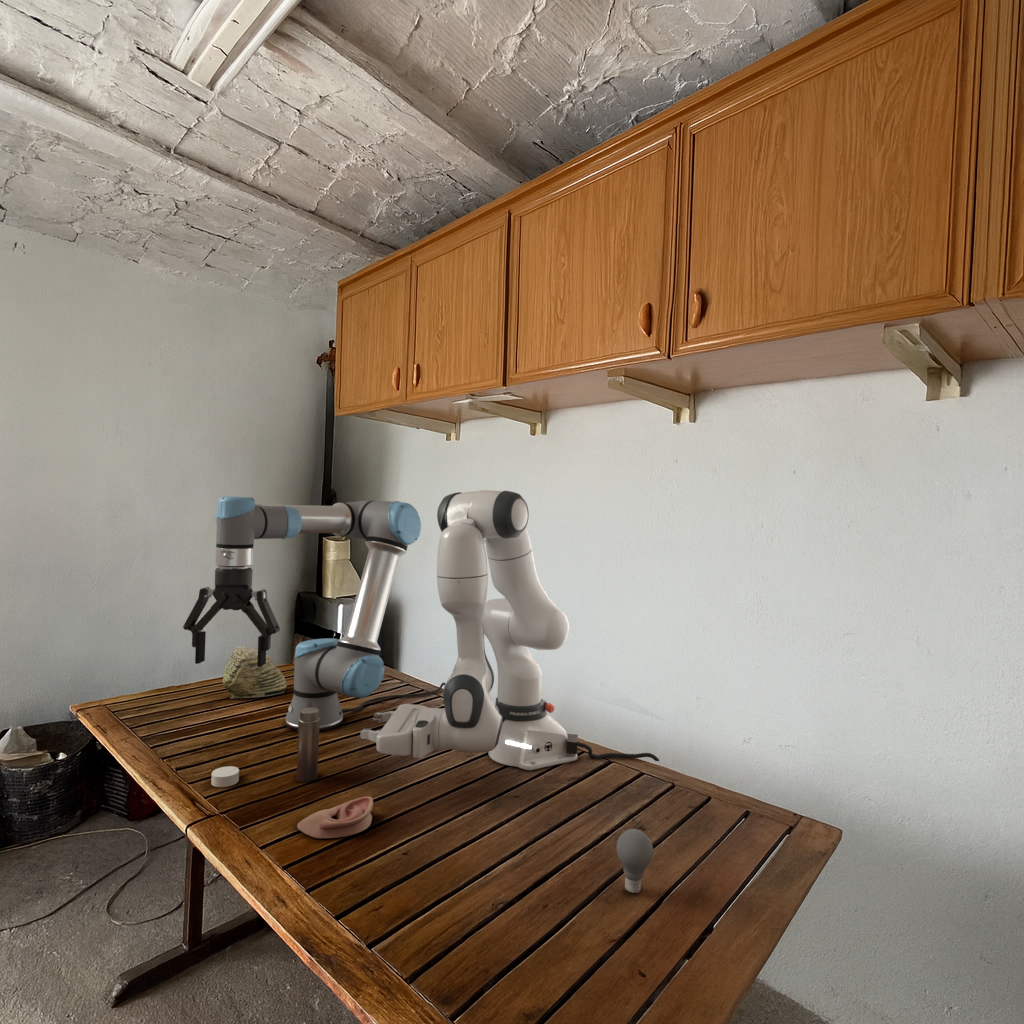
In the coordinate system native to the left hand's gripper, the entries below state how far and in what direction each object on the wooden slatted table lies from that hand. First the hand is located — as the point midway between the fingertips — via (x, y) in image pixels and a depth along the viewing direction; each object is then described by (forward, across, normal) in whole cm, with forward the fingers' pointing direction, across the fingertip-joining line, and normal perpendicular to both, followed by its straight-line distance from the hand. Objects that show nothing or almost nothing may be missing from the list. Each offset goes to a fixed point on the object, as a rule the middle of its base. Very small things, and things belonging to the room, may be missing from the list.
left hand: (230, 663), depth 139 cm
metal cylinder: (+26, +17, +4) cm, 31 cm away
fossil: (+26, -19, +59) cm, 67 cm away
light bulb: (+26, +84, -32) cm, 93 cm away
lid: (+24, 0, 0) cm, 24 cm away
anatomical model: (+26, +29, -16) cm, 42 cm away
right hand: (+13, +30, +3) cm, 33 cm away
